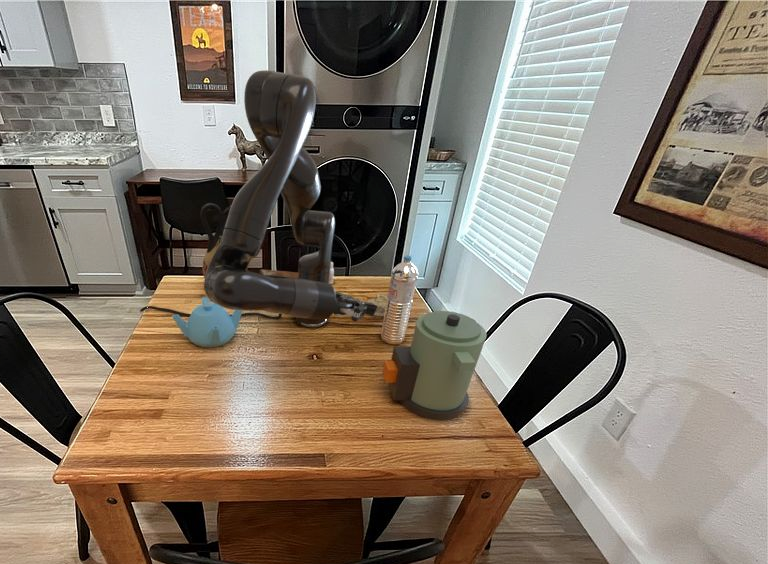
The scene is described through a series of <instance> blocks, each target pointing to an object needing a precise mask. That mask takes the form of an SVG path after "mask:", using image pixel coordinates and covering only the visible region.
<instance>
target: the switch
mask: <svg viewBox="0 0 768 564" xmlns="http://www.w3.org/2000/svg"><path fill="white" fill-rule="evenodd" d="M381 374H382V376H383V379H384V381H385V383H386V384H388V383H396V378H397V374H398V368H397V365H396V363H395V361H391V360H384V363H383V368H382V373H381Z"/></svg>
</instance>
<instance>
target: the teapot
mask: <svg viewBox="0 0 768 564" xmlns="http://www.w3.org/2000/svg"><path fill="white" fill-rule="evenodd" d="M201 302H202V303H201V304H199V305H197V306H196V307H194V309H193V310H192V311H191V313H190V314H191V315H190V316H188V319H187V322H186V320H184V318H182V317H181V315H179V314H172V319H173V320H174V322H175V324H176V325H177V327H178V328H179V330H180V331H181V333H182V334H183V335H184V337H187V339H188V340H189V341H190V342H191V343H192V344H194V345H196V346H198V347H201V348H217V347H221V346H223V345H225V344H227V343H228V342H230V340H231V339H232V338H233V337H234V335H235V333H236V330H237V329H238V327H239V324H240V320H241V317H242V316H241V314H242V313H243V311H241V310H233V312H232V314H230V313H229V312H228V311H227V310H226V308H224V307H222V306H220V305H217V304H215V303H213V302H212V301H210V300H209V298H208V297H207V296H206V297H205V296H204V297H201ZM230 315H232V316H230Z"/></svg>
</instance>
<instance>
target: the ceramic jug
mask: <svg viewBox="0 0 768 564" xmlns="http://www.w3.org/2000/svg"><path fill="white" fill-rule="evenodd" d="M230 208H231V207H228V206H227V207H226V208H225V209H224V210H223V211H222V209H221V208H220V206H218V204H215V203H212V202H209V203H205V204H204V205H202V207H201V209H200V214H199V215H200V221H201V223H202V226H203V228H204V230H205V233H206V235H207V237H208V240H207V248H206V251H205V254H204V256H203V259H202V274H203V275H202V276H203V278H204V279H205V275H206V272H207V269H208V267H209V264H210V262H211V260H212V258H213V256H214V254H215V251H216V249H217V248H218V246H219V244H220V242H221V239H222V235H223V231H224V228H225V224H226V221H227V218H228V214H229V211H230ZM211 211H214V212H216V214H215V215H214V216H213V218H212V219H211V221H210V224H211V225H212V226H216V228H215V232H214V234H213V232H212V229H211V228H210V226H209V224H208V220H207V217H206V214H207V213H208V212H211ZM246 271H248V268H247V269H246Z"/></svg>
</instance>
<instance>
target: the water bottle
mask: <svg viewBox="0 0 768 564" xmlns="http://www.w3.org/2000/svg"><path fill="white" fill-rule="evenodd" d="M412 258H413V256H412V255H408V254H406V255H404V256H403V261H401V262H399V263H397V264H396V265H395V266H394V267H393V268H392V270H391V273H390V282H389V289H388V294H387V302H386V308H385V313H384V316H383V319H382V325H381V330H380V331H381V332H380V339H381V341H383V342H384V343H385V344H388V345H394V346H395V345H401V344H403V342H404V341H405V339H406V334H407V329H408V324H409V320H410V315H411V310H412V305H413V299H414V296H415V295H414V294H415V289H416V285H417V280H418V279H419V271H418V268H417V267H416V266H415V264H413V263H412V262H411V261H412Z"/></svg>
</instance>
